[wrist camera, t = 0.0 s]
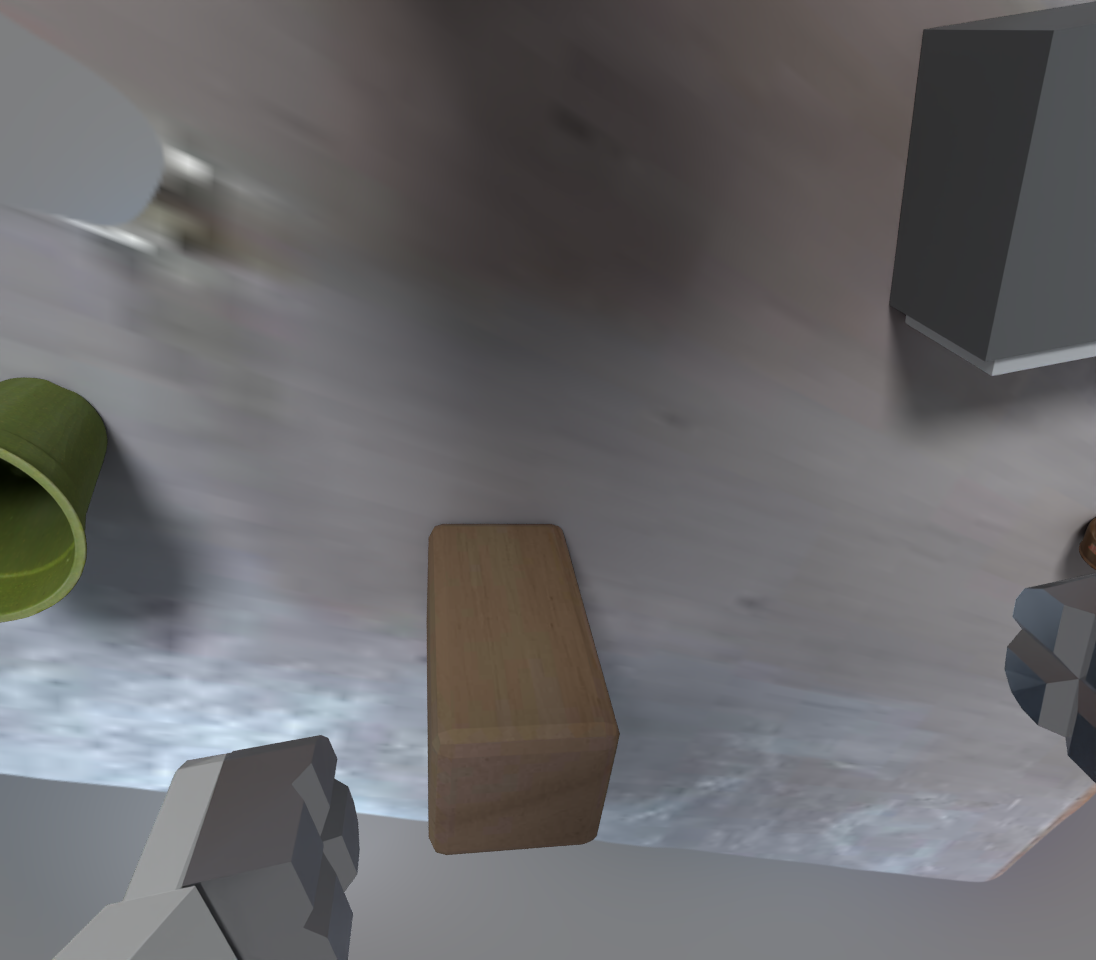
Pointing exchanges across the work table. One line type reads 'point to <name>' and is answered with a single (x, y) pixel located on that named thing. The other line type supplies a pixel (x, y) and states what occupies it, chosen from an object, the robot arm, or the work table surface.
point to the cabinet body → (1003, 185)
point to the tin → (1089, 545)
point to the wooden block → (512, 693)
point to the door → (1016, 361)
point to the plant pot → (44, 492)
